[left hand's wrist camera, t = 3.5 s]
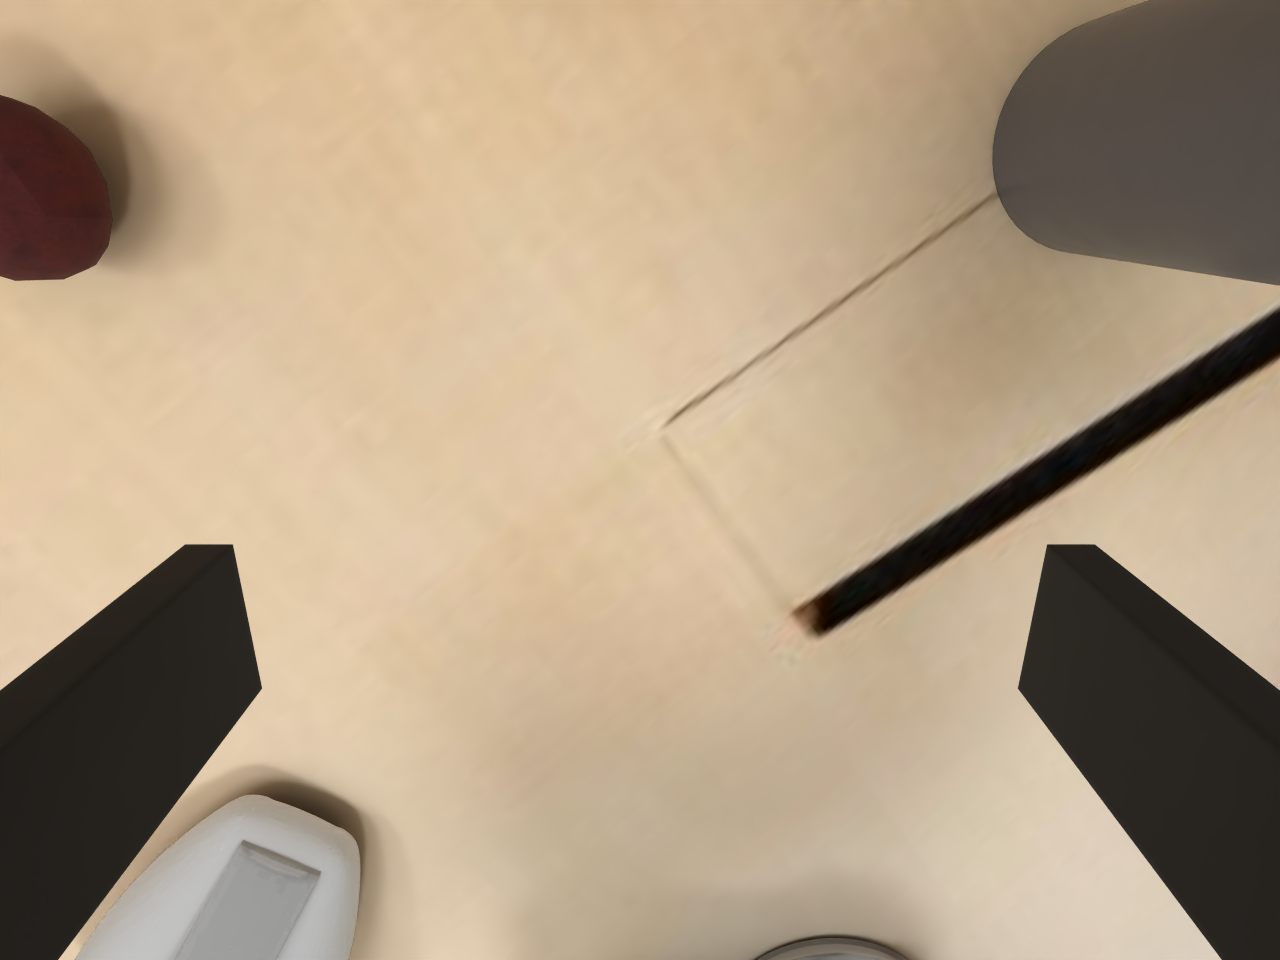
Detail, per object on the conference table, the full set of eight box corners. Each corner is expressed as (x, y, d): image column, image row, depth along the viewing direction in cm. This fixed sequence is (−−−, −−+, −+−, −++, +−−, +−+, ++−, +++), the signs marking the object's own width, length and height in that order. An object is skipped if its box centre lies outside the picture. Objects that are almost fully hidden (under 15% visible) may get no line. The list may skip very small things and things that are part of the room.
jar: (1221, -9, 34) (1941, -249, 15) (1208, 230, 37) (1781, 274, 19) (987, 43, 35) (1398, -126, 16) (996, 272, 38) (1341, 356, 19)
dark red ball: (55, 66, 35) (-81, 39, 28) (182, 219, 37) (83, 226, 30) (-53, 165, 36) (-207, 161, 30) (75, 306, 38) (-42, 331, 32)
